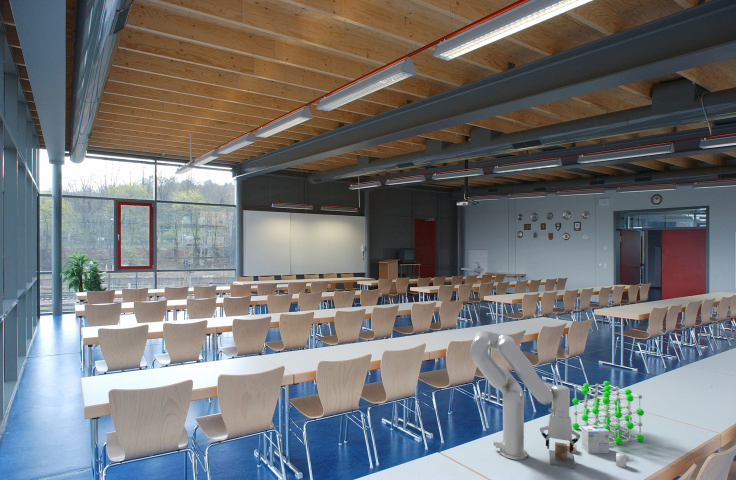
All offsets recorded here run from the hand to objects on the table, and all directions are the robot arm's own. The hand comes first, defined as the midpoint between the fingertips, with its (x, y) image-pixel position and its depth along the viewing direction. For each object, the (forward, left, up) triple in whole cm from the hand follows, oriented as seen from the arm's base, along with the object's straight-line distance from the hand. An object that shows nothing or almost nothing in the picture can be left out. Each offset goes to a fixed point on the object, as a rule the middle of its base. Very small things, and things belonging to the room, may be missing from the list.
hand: (559, 449), depth 206 cm
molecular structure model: (+25, +39, -5) cm, 46 cm away
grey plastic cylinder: (+26, +4, -5) cm, 27 cm away
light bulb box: (+17, +17, -5) cm, 24 cm away
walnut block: (+1, 0, -4) cm, 4 cm away
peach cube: (+6, +12, -5) cm, 14 cm away
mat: (+1, 0, -5) cm, 5 cm away
